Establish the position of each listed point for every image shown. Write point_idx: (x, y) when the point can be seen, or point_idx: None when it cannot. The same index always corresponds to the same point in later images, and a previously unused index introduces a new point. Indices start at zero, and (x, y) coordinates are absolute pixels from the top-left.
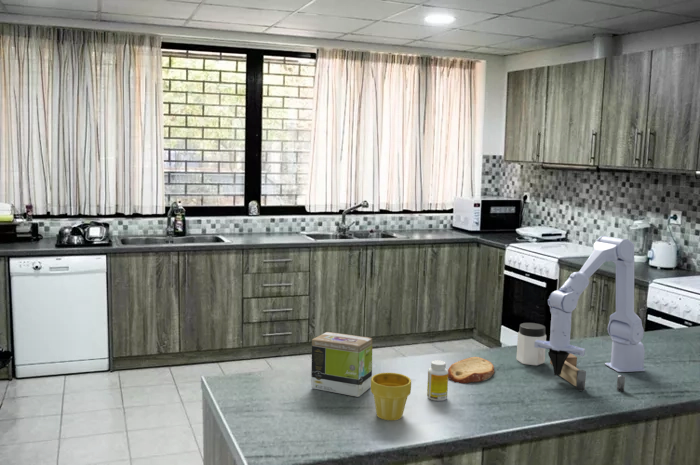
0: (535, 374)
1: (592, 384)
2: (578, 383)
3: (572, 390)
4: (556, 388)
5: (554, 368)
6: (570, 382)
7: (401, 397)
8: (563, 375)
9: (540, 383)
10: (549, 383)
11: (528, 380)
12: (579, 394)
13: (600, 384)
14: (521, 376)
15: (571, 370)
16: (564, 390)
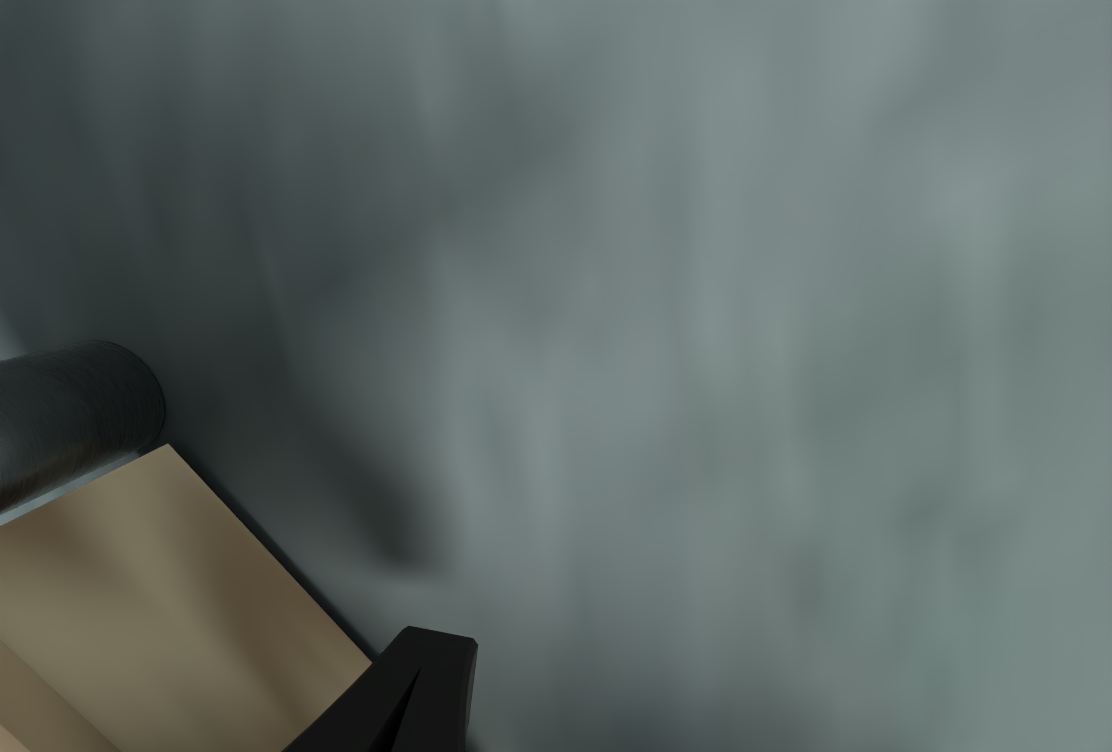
0: (778, 714)
1: None
2: (13, 377)
3: (182, 308)
4: (397, 275)
5: (440, 726)
6: (268, 561)
7: None
8: None
9: (663, 382)
10: (536, 446)
11: (866, 431)
12: (49, 183)
13: None
14: (990, 560)
15: (103, 712)
16: (274, 246)
